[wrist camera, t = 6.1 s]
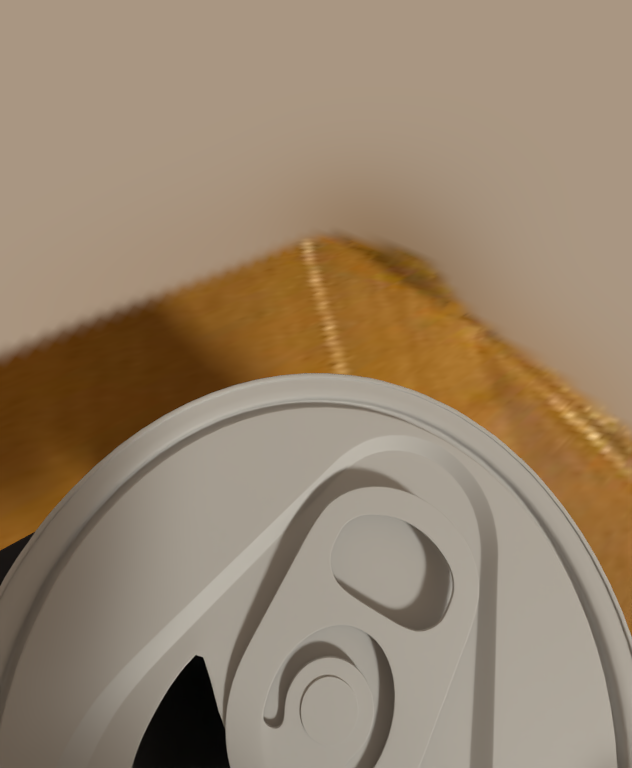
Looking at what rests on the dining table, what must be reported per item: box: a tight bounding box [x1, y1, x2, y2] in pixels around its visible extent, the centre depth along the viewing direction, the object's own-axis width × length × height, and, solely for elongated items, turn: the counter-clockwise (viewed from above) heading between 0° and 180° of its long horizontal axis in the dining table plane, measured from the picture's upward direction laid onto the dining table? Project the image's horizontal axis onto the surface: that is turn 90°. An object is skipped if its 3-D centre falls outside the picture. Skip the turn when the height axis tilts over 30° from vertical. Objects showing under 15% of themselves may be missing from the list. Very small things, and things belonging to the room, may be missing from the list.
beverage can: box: [0, 373, 632, 768], centre depth 8 cm, size 6×6×12 cm
